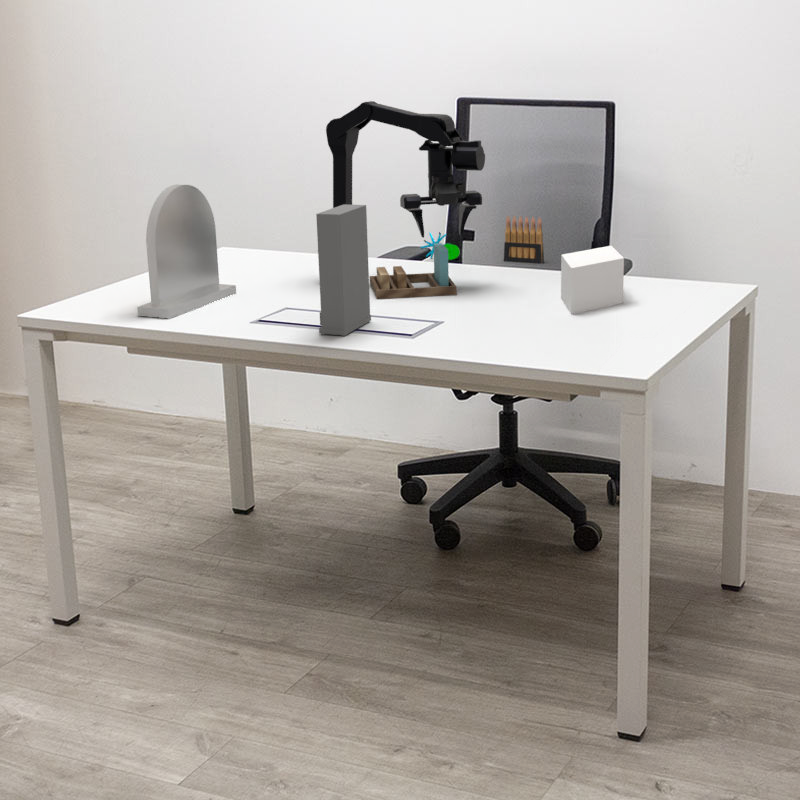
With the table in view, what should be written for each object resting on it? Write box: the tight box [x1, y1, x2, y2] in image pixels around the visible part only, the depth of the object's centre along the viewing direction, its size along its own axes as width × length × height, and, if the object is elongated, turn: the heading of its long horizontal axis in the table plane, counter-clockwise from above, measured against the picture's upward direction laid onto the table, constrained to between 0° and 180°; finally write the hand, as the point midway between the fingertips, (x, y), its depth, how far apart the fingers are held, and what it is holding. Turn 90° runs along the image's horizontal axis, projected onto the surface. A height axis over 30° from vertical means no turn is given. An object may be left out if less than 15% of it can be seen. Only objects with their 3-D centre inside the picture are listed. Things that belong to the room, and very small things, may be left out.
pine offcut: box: [376, 266, 390, 290], centre depth 297 cm, size 2×10×5 cm, turn 6°
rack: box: [369, 272, 458, 300], centre depth 298 cm, size 19×18×2 cm
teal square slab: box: [433, 242, 450, 287], centre depth 298 cm, size 2×10×10 cm, turn 6°
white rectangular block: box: [560, 245, 625, 315], centre depth 280 cm, size 14×29×10 cm, turn 154°
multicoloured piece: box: [420, 231, 461, 261], centre depth 338 cm, size 12×7×8 cm
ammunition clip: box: [503, 215, 545, 265], centre depth 326 cm, size 11×2×12 cm, turn 62°
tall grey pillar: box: [315, 204, 372, 337], centre depth 259 cm, size 14×6×25 cm, turn 159°
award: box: [136, 184, 237, 320], centre depth 285 cm, size 28×9×28 cm, turn 155°
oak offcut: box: [392, 265, 407, 289], centre depth 297 cm, size 2×10×5 cm, turn 6°
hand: (441, 236), depth 297 cm, fingers open, 9 cm apart
